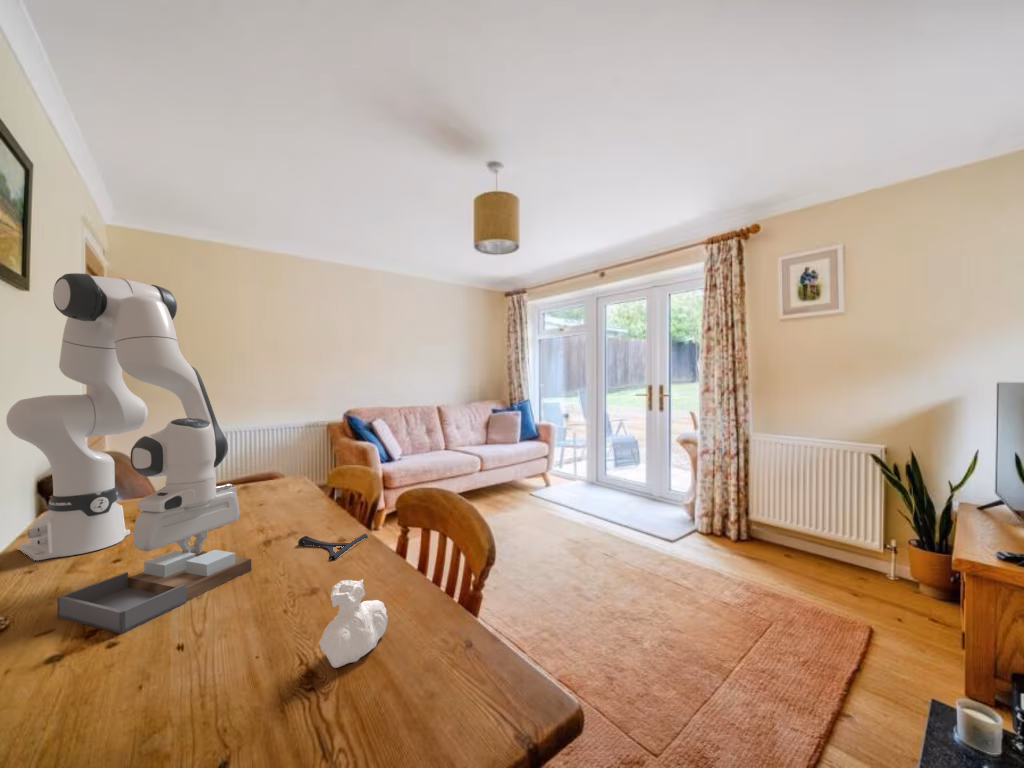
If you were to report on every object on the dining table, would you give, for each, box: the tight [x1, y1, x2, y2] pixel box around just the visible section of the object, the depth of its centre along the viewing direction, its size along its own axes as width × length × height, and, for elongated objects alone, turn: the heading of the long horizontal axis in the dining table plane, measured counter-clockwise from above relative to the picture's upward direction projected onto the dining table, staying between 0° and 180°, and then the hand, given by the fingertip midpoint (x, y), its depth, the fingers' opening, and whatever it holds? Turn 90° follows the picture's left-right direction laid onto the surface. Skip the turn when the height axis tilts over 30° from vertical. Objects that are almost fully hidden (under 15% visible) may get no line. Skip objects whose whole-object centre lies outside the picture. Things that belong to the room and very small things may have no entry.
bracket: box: [297, 533, 369, 560], centre depth 105 cm, size 14×15×3 cm
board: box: [128, 550, 252, 602], centre depth 87 cm, size 16×14×2 cm
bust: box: [318, 579, 389, 669], centre depth 64 cm, size 12×8×11 cm
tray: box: [56, 571, 187, 635], centre depth 76 cm, size 17×10×4 cm, turn 72°
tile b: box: [186, 549, 236, 576], centre depth 87 cm, size 6×6×2 cm
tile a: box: [143, 549, 195, 577], centre depth 87 cm, size 6×6×2 cm
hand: (192, 555), depth 91 cm, fingers closed
